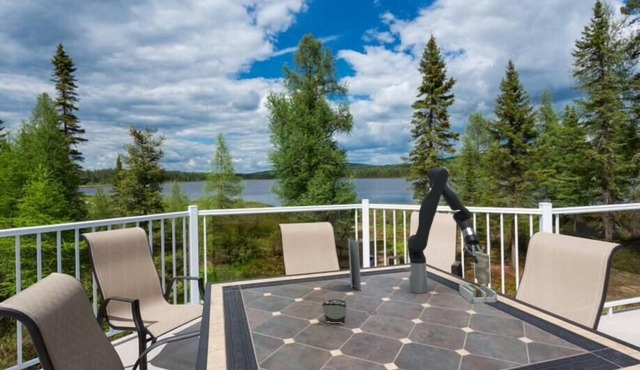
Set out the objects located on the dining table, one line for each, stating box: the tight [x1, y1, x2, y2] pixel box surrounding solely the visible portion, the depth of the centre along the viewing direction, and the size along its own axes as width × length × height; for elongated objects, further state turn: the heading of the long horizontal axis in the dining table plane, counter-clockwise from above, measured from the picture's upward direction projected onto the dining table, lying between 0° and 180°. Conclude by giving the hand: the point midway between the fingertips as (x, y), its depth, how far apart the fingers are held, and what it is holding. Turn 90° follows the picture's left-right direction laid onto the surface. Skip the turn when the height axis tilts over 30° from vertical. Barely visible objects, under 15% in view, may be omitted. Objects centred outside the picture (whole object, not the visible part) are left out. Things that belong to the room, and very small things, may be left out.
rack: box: [458, 283, 498, 304], centre depth 202 cm, size 13×17×5 cm
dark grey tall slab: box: [347, 238, 362, 291], centre depth 233 cm, size 14×6×30 cm, turn 179°
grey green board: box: [473, 251, 491, 285], centre depth 202 cm, size 3×12×15 cm, turn 0°
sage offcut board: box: [463, 284, 476, 298], centre depth 202 cm, size 2×10×6 cm, turn 0°
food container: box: [321, 298, 348, 324], centre depth 177 cm, size 12×6×10 cm, turn 71°
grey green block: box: [468, 284, 480, 298], centre depth 202 cm, size 2×10×6 cm, turn 0°
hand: (480, 262), depth 204 cm, fingers closed on grey green board, 3 cm apart
